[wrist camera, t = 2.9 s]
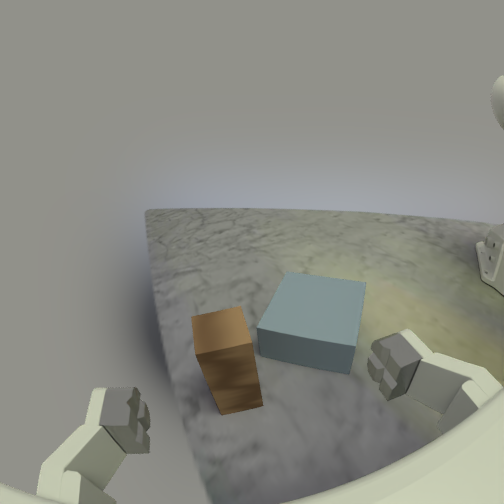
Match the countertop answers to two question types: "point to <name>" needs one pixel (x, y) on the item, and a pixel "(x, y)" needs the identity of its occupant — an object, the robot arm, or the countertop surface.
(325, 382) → the countertop surface
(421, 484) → the robot arm
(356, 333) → the slate block
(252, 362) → the walnut block
